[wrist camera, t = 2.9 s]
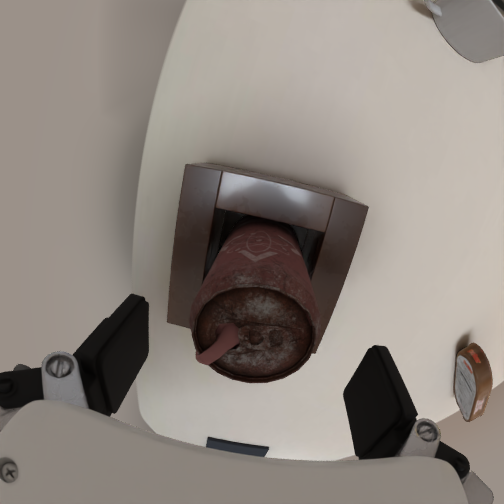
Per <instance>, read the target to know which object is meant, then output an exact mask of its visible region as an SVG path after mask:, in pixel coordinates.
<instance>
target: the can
mask: <svg viewBox="0 0 504 504" xmlns="http://www.w3.org/2000/svg"><path fill="white" fill-rule="evenodd" d="M189 324H190V328H191V332H192V338H193V341H194V345H195V349H196V359H197V361H198V362H200V363H202V364H206V365H208V366H210V367H211V368H212V369H213V370H215V371H216V372H217V373H219V374H221V375H223V376H226V377H228V378H230V379H232V380H236V381H241V382H246V383H268V382H272V381H276V380H279V379H283V378H285V377H287V376H289V375H291V374H292V373H294V372H296V371H298V370H299V369H300V368H301V367H302V366H303V365H304V364H305V363H306V362H307V361H308V360H309V358H310V356H311V354H312V352H313V349H314V347H315V344H316V342H317V340H318V338H319V335H320V329H321V315H320V311H319V308H318V305H317V301H316V298H315V295H314V291H313V288H312V285H311V281H310V278H309V275H308V272H307V269H306V265H305V262H304V259H303V256H302V253H301V250H300V247H299V244H298V241H297V238H296V235H295V233H294V230H293V228H292V227H291V226H290V225H289V224H287V223H282V222H278V221H274V220H269V219H265V218H260V217H256V216H251V215H246V216H244V217H242V218H241V219H240V220H239V221H238V222H237V223H235V225H234V226H233V228H232V230H231V231H230V233H229V235H228V237H227V239H226V241H225V242H224V244H223V246H222V248H221V250H220V252H219V254H218V256H217V257H216V259H215V261H214V263H213V265H212V267H211V269H210V271H209V273H208V274H207V276H206V278H205V280H204V282H203V284H202V286H201V288H200V290H199V292H198V294H197V296H196V298H195V299H194V301H193V303H192V305H191V312H190V319H189Z"/></svg>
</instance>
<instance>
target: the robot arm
mask: <svg viewBox="0 0 504 504" xmlns="http://www.w3.org/2000/svg"><path fill="white" fill-rule="evenodd" d="M148 353H149V303H148V302H146V301H145V298H144V297H142V296H139V295H135V294H130V295H129V296H128V297H127V298H126V299H125V301H124V302H123V303H122V304H121V305H120V306H119V307H118V308H117V309H116V310H115V311H114V313H113V314H112V315H111V316H110V317H109V318H105V319H104V320H103V321H102V322H101V323H100V324H99V325H98V326H97V328H96V329H95V330H94V331H93V332H92V333H91V334H90V335H89V337H88V338H87V339H86V340H85V341H84V342H83V343H82V345H81V346H80V347H79V348H78V349H77V350H76V352H75V353H74V354H73V355H71V354H69V353H66V352H53V353H51V354H49V355H48V356H46V357H45V358H44V360H43V362H42V367H40V368H33V369H25V370H17V371H8V372H3V373H0V504H492V503H493V498H494V497H493V493H492V491H491V490H490V489H489V488H488V487H487V485H486V484H485V483H484V482H483V481H482V480H481V479H480V478H479V477H478V476H477V475H476V474H475V473H474V472H473V471H471V472H470V473H469V470H470V465H469V461H468V459H467V458H466V457H465V456H464V455H463V454H461V453H459V452H458V451H456V450H454V449H453V448H451V447H449V446H448V445H446V444H444V443H443V442H441V441H440V438H441V433H440V429H439V427H438V426H437V425H436V423H434V422H433V421H432V420H429V419H425V418H422V419H419V420H416V416H417V415H418V413H417V411H416V409H415V406H414V404H413V402H412V399H411V397H410V395H409V393H408V390H407V388H406V386H405V384H404V382H403V379H402V377H401V375H400V373H399V371H398V369H397V367H396V365H395V363H394V360H393V358H392V356H391V354H390V352H389V350H388V348H387V347H386V346H378V345H374V346H372V348H369V349H368V350H367V352H366V354H365V356H364V357H363V359H362V361H361V363H360V364H359V366H358V368H357V370H356V371H355V373H354V375H353V376H352V378H351V380H350V381H349V383H348V384H347V386H346V388H345V389H344V393H343V397H344V402H345V406H346V411H347V415H348V420H349V425H350V430H351V435H352V440H353V445H354V450H355V455H356V456H358V457H359V460H348V461H308V460H289V459H277V458H267V457H259V456H251V455H244V454H238V453H232V452H227V451H221V450H216V449H212V448H207V447H203V446H198V445H194V444H190V443H186V442H183V441H179V440H175V439H172V438H169V437H165V436H162V435H159V434H156V433H153V432H150V431H146V430H144V429H141V428H138V427H135V426H132V425H130V424H127V423H124V422H122V421H119V420H117V419H114V418H111V417H110V416H111V414H112V413H114V414H115V413H116V412H117V411H118V409H119V407H120V405H121V403H122V401H123V400H124V398H125V396H126V394H127V392H128V391H129V389H130V387H131V385H132V383H133V381H134V380H135V378H136V376H137V374H138V373H139V371H140V369H141V367H142V366H143V364H144V362H145V360H146V359H147V356H148Z"/></svg>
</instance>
